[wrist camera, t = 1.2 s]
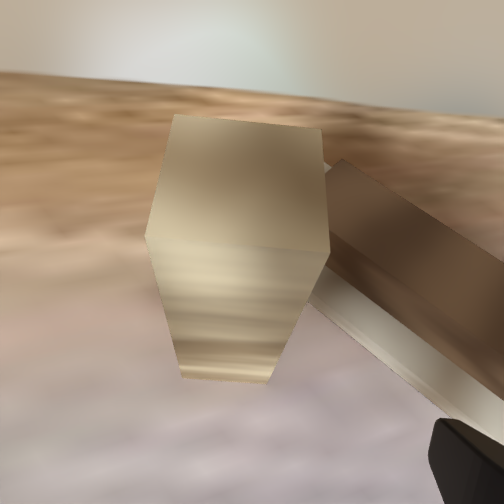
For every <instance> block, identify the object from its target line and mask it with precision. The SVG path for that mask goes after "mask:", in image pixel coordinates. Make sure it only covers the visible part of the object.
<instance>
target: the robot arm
mask: <svg viewBox="0 0 504 504" xmlns="http://www.w3.org/2000/svg"><path fill="white" fill-rule="evenodd" d="M428 460H429V464H430V467H431V470H432V472H433V475H434V477H435V480H436V483H437V485H438V488H439V491H440V493H441V496H442V498H443V501H444V504H504V445H502V444H500V443H499V442H497V441H495V440H493V439H492V438H490V437H488V436H487V435H485V434H483V433H481V432H480V431H478V430H476V429H474V428H473V427H471V426H469V425H467V424H466V423H464V422H462V421H460V420H458V419H448V418H439V419H438V420H436V422H435V424H434V428H433V433H432V437H431V441H430V446H429V450H428Z"/></svg>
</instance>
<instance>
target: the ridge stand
mask: <svg viewBox="0 0 504 504" xmlns="http://www.w3.org/2000/svg"><path fill="white" fill-rule="evenodd" d="M324 170H325V184H326V198H327V212H328V226H329V240H330V255H329V257H328V259H327V261H326V263H325V265H324V267H323V269H322V271H321V273H320V275H319V277H318V279H317V281H316V284H315V286H314V288H313V290H312V292H311V294H310V296H309V298H308V300H307V301H308V302H309V303H310V304H312V305H313V306H314V307H315V308H317V309H318V310H319V311H320V312H322V313H323V314H324V315H325V316H326V317H328V318H329V319H330V320H331V321H333V322H334V323H335V324H336V325H338V326H339V327H340V328H341V329H343V330H344V331H345V332H346V333H347V334H349V335H350V336H351V337H352V338H354V339H355V340H356V341H357V342H359V343H360V344H361V345H362V346H364V347H365V348H366V349H367V350H368V351H370V352H371V353H372V354H373V355H375V356H376V357H377V358H378V359H380V360H381V361H382V362H383V363H385V364H386V365H387V366H388V367H389V368H391V369H392V370H393V371H394V372H396V373H397V374H398V375H399V376H401V377H402V378H403V379H404V380H405V381H407V382H408V383H409V384H410V385H412V386H413V387H414V388H415V389H417V390H418V391H419V392H420V393H422V394H423V395H424V396H425V397H426V398H428V399H429V400H430V401H431V402H433V403H434V404H435V405H436V406H438V407H439V408H440V409H441V410H443V411H444V412H445V413H446V414H447V415H449V416H450V417H451V418H452V419H458V420H460V421H462V422H464V423H466V424H467V425H469V426H471V427H473V428H474V429H476V430H478V431H480V432H481V433H483V434H485V435H487V436H488V437H490V438H492V439H493V440H495V441H497V442H499V443H500V444H502V445H504V263H503V262H501V261H500V260H498V259H497V258H495V257H494V256H492V255H491V254H489V253H488V252H486V251H484V250H483V249H481V248H480V247H478V246H477V245H475V244H474V243H472V242H470V241H469V240H467V239H466V238H464V237H463V236H461V235H460V234H458V233H456V232H455V231H453V230H452V229H450V228H449V227H447V226H446V225H444V224H443V223H441V222H439V221H438V220H436V219H435V218H433V217H432V216H430V215H429V214H427V213H425V212H424V211H422V210H421V209H419V208H418V207H416V206H415V205H413V204H411V203H410V202H408V201H407V200H405V199H404V198H402V197H401V196H399V195H397V194H396V193H394V192H393V191H391V190H390V189H388V188H387V187H385V186H384V185H382V184H380V183H379V182H377V181H376V180H374V179H373V178H371V177H370V176H368V175H366V174H365V173H363V172H362V171H360V170H359V169H357V168H356V167H354V166H352V165H351V164H349V163H348V162H346V161H345V160H343V159H341V160H340V161H339V162H338V163H336V164H335V165H334V166H333V167H331V166H330V165H328V164H327V163H325V162H324Z"/></svg>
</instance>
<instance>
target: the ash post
mask: <svg viewBox="0 0 504 504" xmlns="http://www.w3.org/2000/svg"><path fill="white" fill-rule="evenodd" d="M145 240H146V244H147V248H148V251H149V255H150V259H151V262H152V266H153V270H154V274H155V277H156V281H157V285H158V289H159V292H160V296H161V300H162V304H163V307H164V311H165V315H166V319H167V322H168V326H169V330H170V334H171V337H172V341H173V345H174V349H175V352H176V356H177V360H178V363H179V367H180V371H181V375H182V378H187V379H201V380H215V381H229V382H243V383H257V384H267V382H268V380H269V378H270V376H271V374H272V372H273V370H274V368H275V366H276V364H277V362H278V360H279V358H280V356H281V353H282V351H283V349H284V347H285V345H286V343H287V341H288V339H289V337H290V335H291V333H292V331H293V329H294V327H295V325H296V323H297V321H298V319H299V316H300V314H301V312H302V310H303V308H304V306H305V304H306V302H307V300H308V298H309V296H310V294H311V292H312V290H313V288H314V286H315V284H316V281H317V279H318V277H319V275H320V273H321V271H322V269H323V267H324V265H325V263H326V261H327V259H328V257H329V255H330V240H329V226H328V212H327V198H326V184H325V170H324V156H323V142H322V129H314V128H305V127H295V126H285V125H276V124H266V123H256V122H247V121H237V120H227V119H218V118H208V117H198V116H189V115H179V114H174V118H173V122H172V126H171V130H170V134H169V138H168V142H167V146H166V150H165V155H164V159H163V163H162V167H161V171H160V175H159V179H158V183H157V187H156V191H155V195H154V200H153V204H152V208H151V212H150V216H149V220H148V224H147V228H146V232H145Z"/></svg>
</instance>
